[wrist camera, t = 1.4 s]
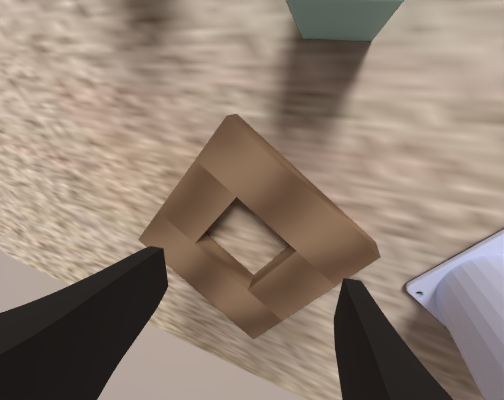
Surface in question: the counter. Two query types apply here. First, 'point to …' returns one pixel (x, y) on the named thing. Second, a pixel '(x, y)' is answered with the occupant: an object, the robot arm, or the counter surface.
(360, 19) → the teal peg
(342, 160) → the counter surface
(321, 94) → the counter surface
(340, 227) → the walnut socket block
